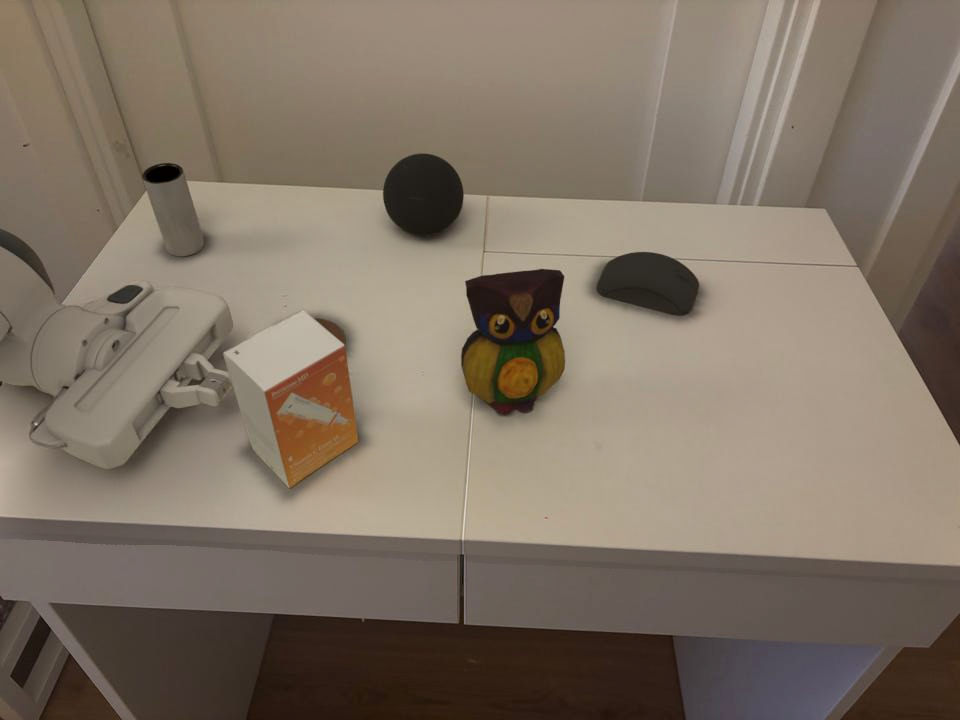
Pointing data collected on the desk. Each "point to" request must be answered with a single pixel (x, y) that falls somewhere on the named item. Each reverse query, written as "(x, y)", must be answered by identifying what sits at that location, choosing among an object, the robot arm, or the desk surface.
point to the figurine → (514, 338)
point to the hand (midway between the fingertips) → (224, 389)
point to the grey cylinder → (173, 208)
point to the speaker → (423, 194)
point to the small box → (294, 396)
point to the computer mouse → (650, 282)
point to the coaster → (332, 329)
